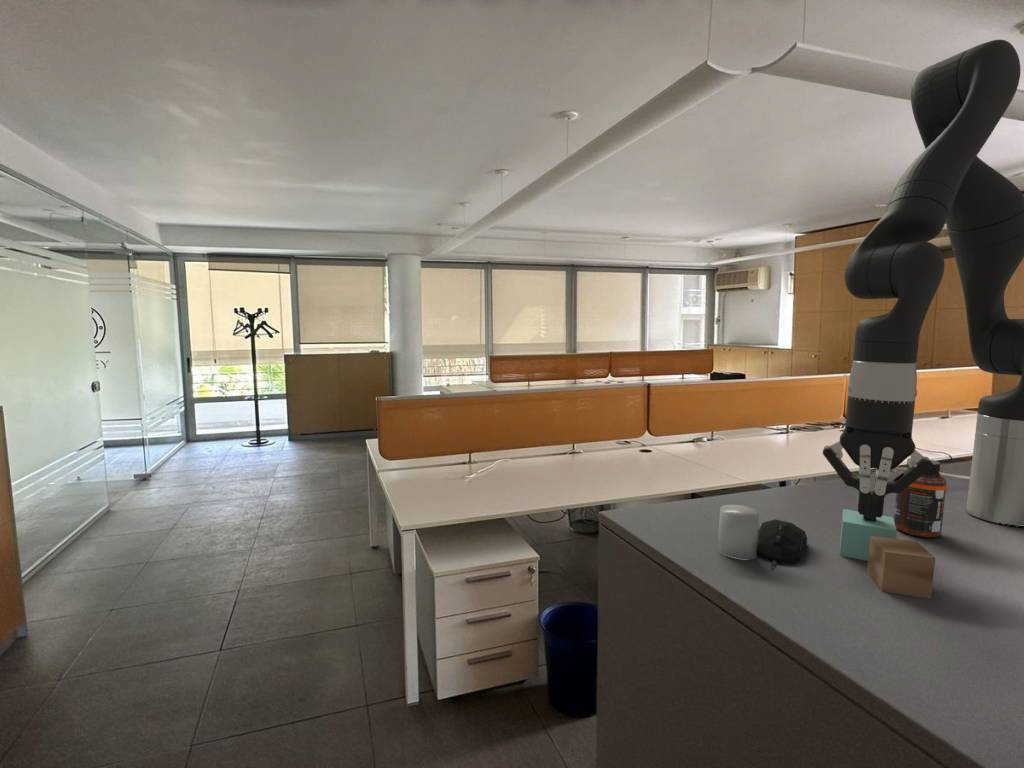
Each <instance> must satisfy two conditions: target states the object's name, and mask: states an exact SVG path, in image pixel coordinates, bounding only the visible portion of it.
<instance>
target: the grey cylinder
mask: <svg viewBox="0 0 1024 768" xmlns="http://www.w3.org/2000/svg"><path fill="white" fill-rule="evenodd" d="M718 521H719V523H718V537H717V550H718V549H719V550H720V551H721V552H722V553H724V554H726V555H729V556H732V557H736V558H740V559H752V560H754V559H756V558H757V557H758V556H757V543H758V530H759V528H760V512H759V510H757V509H755V508H753V507H751V506H746V505H742V504H741V505H740V504H724V505H721V506H720V507H719V520H718Z"/></svg>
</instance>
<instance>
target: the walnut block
mask: <svg viewBox="0 0 1024 768" xmlns="http://www.w3.org/2000/svg"><path fill="white" fill-rule="evenodd" d="M935 565H936V557H935V556H934V555H933V554H932V553H931V552H929V551H928V550H927V549H926V548H925V546H924V547H923V545H921V544H920V542H918V541H917V540H906V539H900V538H899V539H898V538H896V539H892V538H883V537H874V536H870V546H869V557H868V561H867V570H866V573H867V575H868V577H870V578H871V579H872V582H873V583H875V585H876V586H877V588H878V589H879V591H881V592H884V593H890V594H891V593H892V594H899V595H906V596H913V597H918V598H919V597H920V598H926V599H932V591H933V584H934V583H933V582H934V575H935V574H934V573H935Z"/></svg>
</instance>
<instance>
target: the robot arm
mask: <svg viewBox="0 0 1024 768" xmlns="http://www.w3.org/2000/svg"><path fill="white" fill-rule="evenodd" d="M1020 79H1021V62H1020V57H1019V54H1018V52H1017V50H1016V48H1015V46H1014V45H1013V44H1011V43H1010V42H1009V41H1008V40H1004V39H993V40H990V41H985V42H983V43H979V44H978V45H975V46H972V47H970V48H969V49H966V50H963V51H961V52H959V53H956V54H955V55H951V56H949V57H948V58H945V59H943V60H941V61H937V62H936V63H934V64H932V65H930V66H926V68H923V69H922V70H920V71H919V72H918V73H917V74H916V75H915V77H914V79H913V80H912V83H911V87H910V104H911V110H912V113H913V114H912V115H913V118H914V122H915V123H916V124H915V125H916V126H917V130H918V133H919V135H920V139H921V141H922V144H923V147H924V150H923V151H922V152H921V153H920V154H919V155H918V156H917V157H916V158H915V159H914V160H913V161H912V162H911V163H910V164H909V166H908V167H907V168H906V169H905V171H904V172H903V173H902V174H901V176H900V178H899V179H898V181H897V183H896V185H895V187H894V189H893V191H892V193H891V195H890V199H889V202H888V203H887V205H886V208H885V211H884V213H883V215H882V217H881V218H880V219H879V220H878V221H877V222H876V223H875V224H874V226H873V227H872V228H871V230H870V231H869V232H868V233H867V234H866V236H865V237H864V238H863V239H862V240H861V242H860V243H859V244H858V246H857V247H856V248H855V250H854V251H853V252H852V254H851V256H850V257H849V260H848V262H847V263H846V268H845V271H844V282H845V286H846V289H847V291H848V292H849V293H850V294H851V295H852V296H854V297H855V298H856V299H862V300H883V299H884V300H887V299H888V300H889V299H897V301H896V302H895V305H894V306H893V307H892V309H891V310H890V311H889V312H888V313H885V314H881V315H877V316H871V317H867V318H864V319H861V320H860V321H858V323H857V326H856V328H855V334H854V344H853V345H854V346H853V357H852V360H853V361H852V365H851V370H850V374H849V377H848V378H849V379H848V386H847V401H846V410H845V424H844V430H843V432H842V433H841V435H840V437H839V440H838V441H836V442H835V443H832V444H831V445H826V446H824V447H823V449H822V455H823V456H824V457H825V459H826V460H827V462H828V463H829V465H831V467H832V469H834V471H835V472H836V473H837V475H838V476H839V478H840V479H841V480H842V481H843V483H844V484H845V485H846V486H847V487H851V488H853V489H856V490H857V491H858V503H857V511H858V512H859V514H861V515H863V519H866V520H869V519H870V520H872V521H876V517H879V518H881V516H884V514H883V513H884V504H885V498H886V496H887V495H888V494H896V493H900V492H902V491H903V490H904V489H905V488H907V487H908V486H909V485H911V484H912V483H913V482H914V481H916V480H917V479H918V478H920V477H921V476H922V475H923V474H925V473H926V472H927V471H929V470H930V469H931V468H932V467H933V463H932V462H931V460H932V459H930V458H929V457H927V456H924V455H923V454H921V453H920V452H918V451H917V449H916V444H915V442H914V440H913V435H912V433H913V426H914V415H915V407H916V397H917V396H918V390H917V385H918V374H917V372H918V371H917V361H918V352H919V345H920V344H919V341H920V336H921V335H920V334H921V331H922V327H923V324H924V321H925V319H926V316H927V314H928V310H930V306H931V304H932V302H933V300H934V297H935V295H936V293H937V291H938V289H939V286H940V284H941V282H942V279H943V276H944V273H945V258H944V255H943V253H942V251H941V250H940V248H939V247H938V246H937V245H935V244H933V243H932V242H931V241H932V240H934V239H935V238H936V237H937V236H939V235H940V234H941V232H942V231H943V229H944V227H945V226H946V228H947V233H948V237H949V238H948V239H949V242H950V245H951V249H952V253H953V256H954V260H955V263H956V266H957V270H958V275H959V279H960V284H961V287H962V288H961V289H962V293H963V294H962V295H963V299H964V305H965V306H964V307H965V311H966V312H965V313H966V321H967V329H968V340H969V346H970V352H971V355H972V359H973V361H974V363H975V365H976V366H977V367H978V368H979V370H981V371H983V372H986V373H990V374H995V375H1007V376H1008V375H1010V376H1021V377H1020V380H1019V383H1017V386H1016V387H1014V388H1012V389H1011V390H1008V391H1005V392H1002V393H1001V392H1000V393H996V394H991V395H985V396H982V397H981V398H980V399H979V401H978V405H977V416H976V425H975V433H974V442H973V448H972V450H973V451H972V459H971V468H970V475H969V477H970V478H969V484H968V493H967V499H966V500H967V501H966V509H965V511H966V513H968V514H969V515H971V516H973V517H975V518H978V519H982V520H985V521H987V522H991V523H995V524H999V523H1001V524H1000V525H1005V524H1009V525H1008V526H1010V525H1024V318H1010V317H1009V316H1008V315H1007V312H1006V308H1005V292H1006V289H1007V286H1008V284H1009V282H1010V281H1011V279H1012V277H1013V275H1014V274H1015V272H1016V271H1017V270H1018V268H1019V266H1020V265H1021V263H1022V261H1023V259H1024V194H1023V192H1022V191H1021V190H1020V188H1018V187H1017V186H1016V185H1015V183H1013V182H1012V181H1011V180H1009V179H1008V178H1007V177H1006V176H1004V175H1003V174H1001V173H1000V172H999V171H998V170H996V169H994V168H993V167H991V166H990V165H989V164H987V163H986V162H985V161H983V160H982V159H981V158H980V157H979V156H978V155H979V153H980V152H981V150H982V148H983V146H984V145H986V142H987V141H988V139H990V136H991V135H992V133H993V132H994V129H995V128H996V127H997V125H998V124H999V122H1000V120H1001V119H1002V117H1003V116H1004V114H1006V111H1007V109H1008V108H1009V106H1010V105H1011V103H1012V101H1013V100H1014V97H1015V95H1016V93H1017V90H1018V87H1019V83H1020ZM842 450H844V451H845V452H846V454H847V455H848V456H849V458H850V459H851V461H852V462H853V464H854V465H856V466H858V473H859V474H858V476H854V474H853V473H852V471H851V470H850V469H849V468H848V466H847V465H846V464H845V463H844V461H843V460H842V459H843V456H844V454H843V451H842ZM908 458H910V460H909V461H908V465H909V466H910V467H906V469H904V470H905V471H904V470H902V471H903V472H902V471H901V472H902V473H901V474H900V475H899V474H898V475H897V476H895V478H893V479H892V480H890V481H888V480H889V478H890V472H891V470H895V469H896V468H897V467H898V466H899V465H901V464H902V463H903V462H904V461H905V460H906V459H908ZM871 469H875V471H876V472H875V476H874V477H875V478H874V482H873V490H871Z"/></svg>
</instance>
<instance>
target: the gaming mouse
mask: <svg viewBox="0 0 1024 768" xmlns="http://www.w3.org/2000/svg"><path fill="white" fill-rule="evenodd" d="M807 543H808V537H807V534H806V531H805V530H803V529H802V528H800V527H799V526H797V525H795V524H794V523H792V522H791V521H785V520H779V519H771V520H768V521H764V522H762V523H761V525H759V529H758V543H757V556H756V557H758V558H760V559H762V560H765V561H768V562H770V566H771V568H770V572H773V571H774V570H775V568H777V564H778V565H779V564H780V565H789V566H790V565H791V566H792V565H796V564H799V563H801V561H802V558H803V556H804V554H805V551H806V549H807Z"/></svg>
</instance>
